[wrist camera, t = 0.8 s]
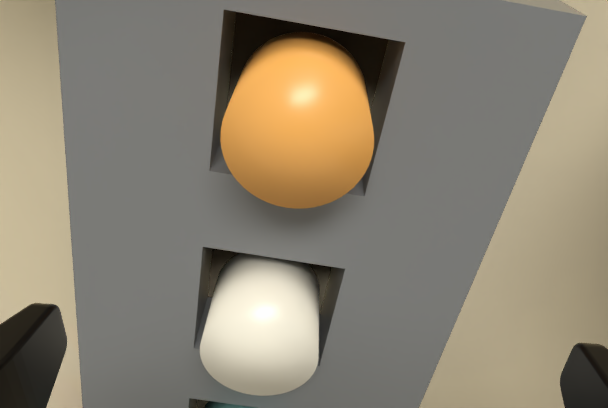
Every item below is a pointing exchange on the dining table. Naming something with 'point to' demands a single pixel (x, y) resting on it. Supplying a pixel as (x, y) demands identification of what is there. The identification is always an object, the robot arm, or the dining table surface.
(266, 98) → the orange button
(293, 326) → the cream button
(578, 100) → the dining table surface
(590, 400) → the robot arm
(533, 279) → the dining table surface
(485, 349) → the dining table surface
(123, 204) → the console
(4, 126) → the dining table surface
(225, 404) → the teal button
